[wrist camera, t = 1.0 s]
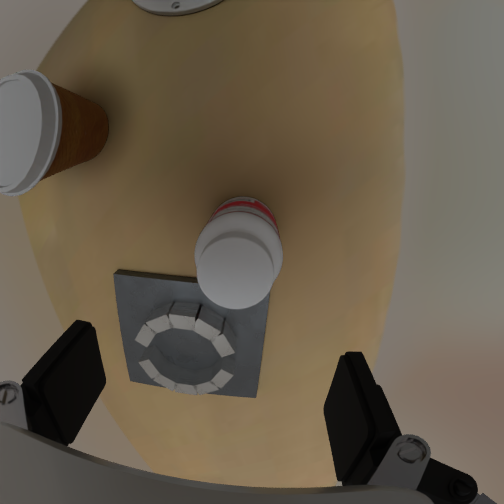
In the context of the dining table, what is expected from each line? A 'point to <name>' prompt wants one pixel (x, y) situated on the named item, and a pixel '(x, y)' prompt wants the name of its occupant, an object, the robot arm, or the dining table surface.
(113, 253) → the dining table surface
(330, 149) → the dining table surface
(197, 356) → the socket plate
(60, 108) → the disposable coffee cup
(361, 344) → the dining table surface
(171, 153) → the dining table surface
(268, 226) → the pill bottle
